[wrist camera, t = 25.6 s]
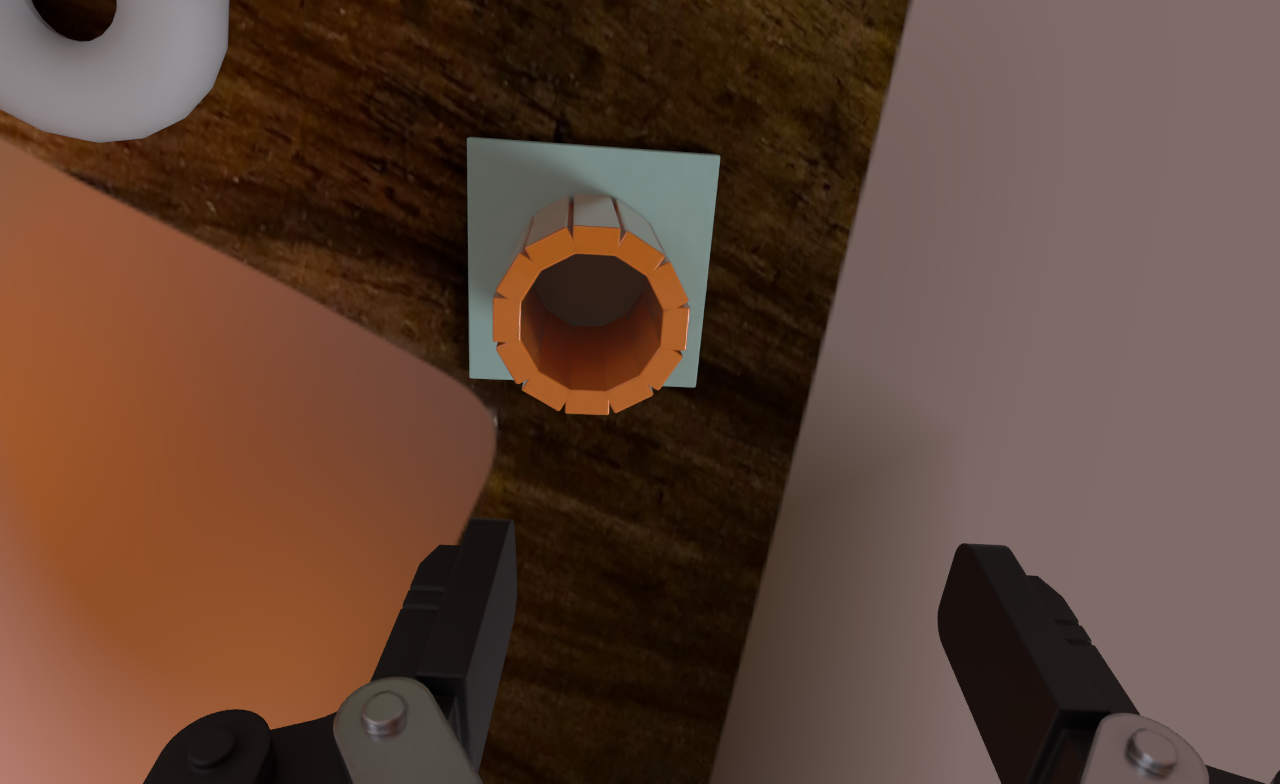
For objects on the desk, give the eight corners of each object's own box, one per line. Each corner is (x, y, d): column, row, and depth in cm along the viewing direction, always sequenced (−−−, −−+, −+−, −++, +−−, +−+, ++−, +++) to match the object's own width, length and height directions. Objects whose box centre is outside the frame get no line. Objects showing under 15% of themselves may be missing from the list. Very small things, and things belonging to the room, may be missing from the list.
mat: (718, 154, 31) (720, 155, 30) (693, 383, 35) (695, 387, 34) (468, 136, 30) (466, 137, 29) (470, 373, 34) (469, 378, 33)
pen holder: (671, 200, 31) (698, 232, 24) (658, 349, 33) (679, 418, 26) (512, 189, 30) (492, 220, 23) (510, 341, 33) (492, 411, 26)
